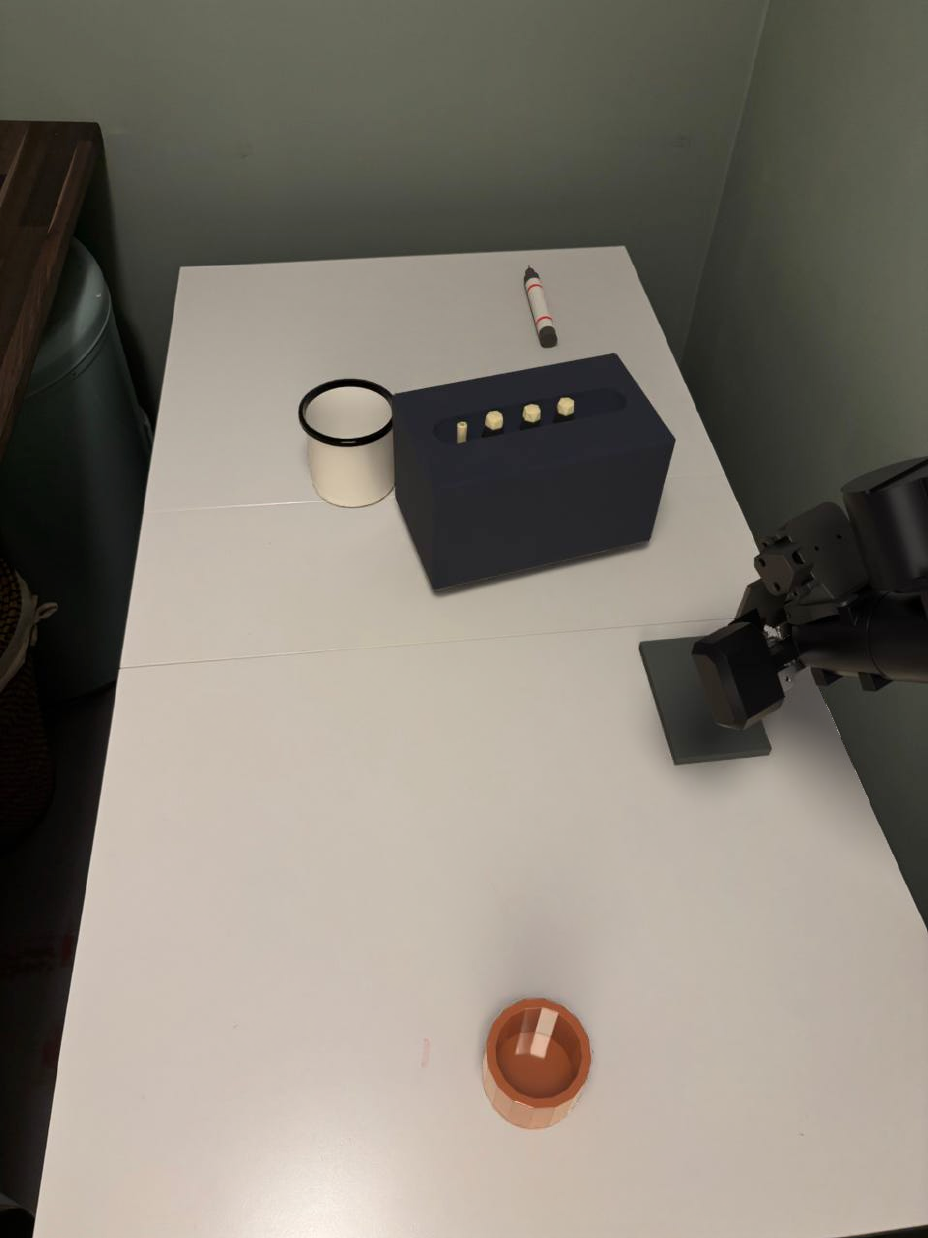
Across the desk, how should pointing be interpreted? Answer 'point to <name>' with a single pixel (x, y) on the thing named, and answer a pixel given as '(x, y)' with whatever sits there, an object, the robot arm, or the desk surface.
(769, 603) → the spatula
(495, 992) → the desk surface
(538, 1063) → the crock
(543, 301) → the marker
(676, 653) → the mat
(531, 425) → the speaker
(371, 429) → the mug
